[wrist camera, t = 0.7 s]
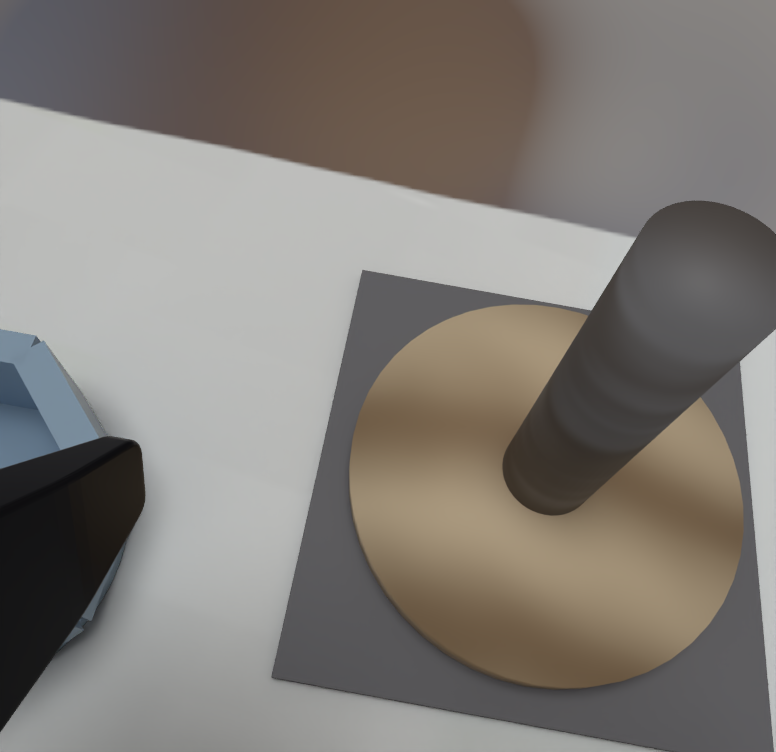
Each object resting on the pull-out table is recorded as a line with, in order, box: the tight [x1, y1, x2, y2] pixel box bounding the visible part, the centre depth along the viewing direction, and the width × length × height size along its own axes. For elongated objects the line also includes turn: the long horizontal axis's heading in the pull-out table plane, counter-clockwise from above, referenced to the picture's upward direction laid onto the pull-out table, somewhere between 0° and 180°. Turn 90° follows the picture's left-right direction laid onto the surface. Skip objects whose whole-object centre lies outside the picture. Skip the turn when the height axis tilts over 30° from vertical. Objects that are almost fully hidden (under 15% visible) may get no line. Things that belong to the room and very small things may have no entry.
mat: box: [272, 270, 774, 752], centre depth 24 cm, size 15×15×1 cm
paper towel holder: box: [349, 201, 776, 690], centre depth 18 cm, size 13×13×12 cm
